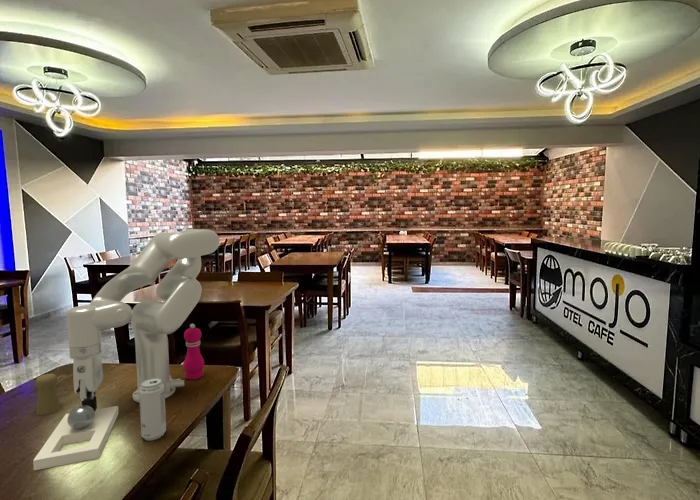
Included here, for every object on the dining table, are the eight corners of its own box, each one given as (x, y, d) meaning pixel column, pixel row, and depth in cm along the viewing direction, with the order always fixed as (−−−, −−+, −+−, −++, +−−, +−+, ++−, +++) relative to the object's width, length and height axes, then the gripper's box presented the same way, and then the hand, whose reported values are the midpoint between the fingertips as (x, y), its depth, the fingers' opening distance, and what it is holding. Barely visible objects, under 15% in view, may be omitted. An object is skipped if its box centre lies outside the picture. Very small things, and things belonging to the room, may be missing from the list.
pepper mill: (191, 382, 134) (189, 327, 132) (179, 377, 138) (177, 324, 136) (209, 375, 140) (207, 322, 138) (196, 371, 144) (194, 319, 142)
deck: (118, 413, 113) (118, 405, 113) (98, 458, 93) (98, 448, 93) (66, 422, 109) (66, 413, 109) (33, 470, 88) (33, 460, 88)
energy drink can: (142, 432, 104) (139, 379, 103) (166, 426, 107) (164, 375, 105) (140, 444, 99) (137, 389, 97) (166, 438, 101) (163, 384, 100)
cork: (47, 416, 112) (44, 380, 111) (30, 414, 113) (27, 378, 112) (66, 406, 118) (63, 372, 117) (50, 404, 119) (47, 370, 118)
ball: (98, 419, 106) (96, 399, 105) (91, 431, 100) (90, 410, 99) (72, 424, 103) (70, 403, 103) (64, 436, 98) (62, 414, 97)
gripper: (93, 357, 101) (97, 422, 103) (107, 339, 115) (111, 397, 117) (60, 360, 99) (64, 427, 100) (78, 342, 113) (82, 401, 114)
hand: (89, 411), depth 109 cm, fingers closed
